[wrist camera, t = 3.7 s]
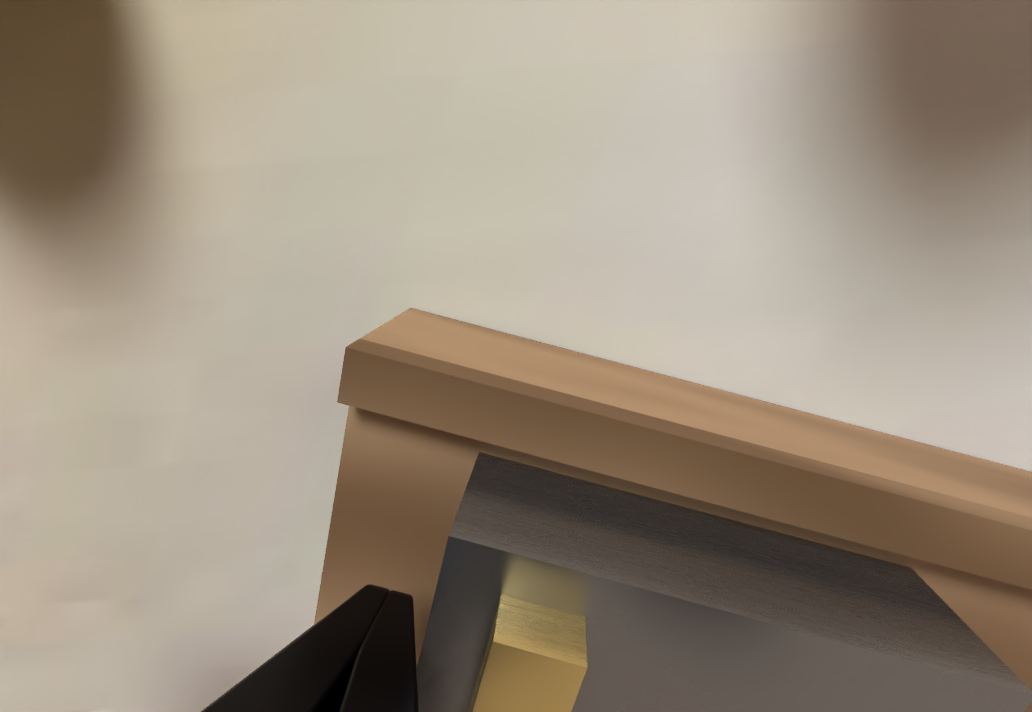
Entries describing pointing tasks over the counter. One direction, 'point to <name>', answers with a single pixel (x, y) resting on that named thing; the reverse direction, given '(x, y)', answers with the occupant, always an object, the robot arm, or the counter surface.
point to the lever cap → (679, 614)
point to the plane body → (653, 469)
